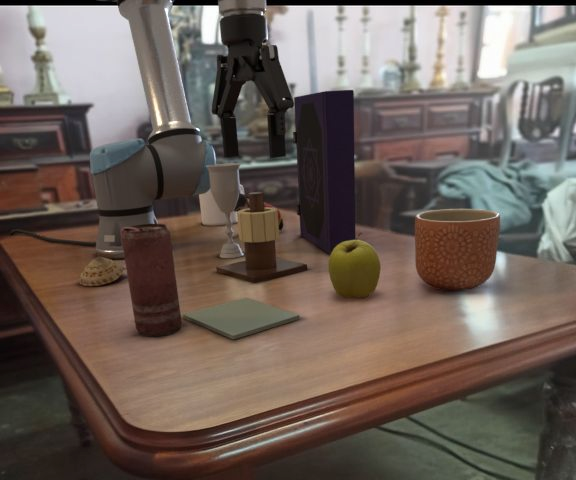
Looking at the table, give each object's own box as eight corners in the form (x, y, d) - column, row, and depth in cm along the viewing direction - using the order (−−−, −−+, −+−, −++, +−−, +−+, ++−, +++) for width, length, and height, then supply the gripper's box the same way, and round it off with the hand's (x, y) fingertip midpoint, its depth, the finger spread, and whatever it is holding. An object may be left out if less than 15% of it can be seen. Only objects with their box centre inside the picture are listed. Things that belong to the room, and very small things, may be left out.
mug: (207, 227, 157) (203, 187, 153) (198, 222, 165) (194, 184, 162) (251, 221, 161) (248, 183, 157) (240, 217, 170) (237, 180, 166)
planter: (450, 301, 85) (454, 225, 81) (397, 283, 95) (398, 215, 91) (513, 286, 90) (519, 214, 86) (456, 271, 100) (459, 206, 96)
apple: (356, 277, 96) (366, 220, 90) (384, 302, 90) (396, 243, 84) (314, 285, 93) (321, 227, 87) (340, 312, 87) (349, 252, 81)
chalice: (242, 259, 118) (234, 165, 111) (210, 259, 119) (200, 167, 113) (251, 251, 125) (244, 162, 118) (221, 251, 126) (212, 164, 119)
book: (357, 252, 118) (355, 89, 107) (327, 255, 117) (322, 91, 106) (323, 233, 139) (319, 95, 129) (298, 235, 138) (291, 97, 127)
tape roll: (231, 239, 106) (229, 211, 104) (263, 233, 110) (261, 206, 109) (254, 244, 101) (252, 214, 99) (287, 237, 105) (285, 209, 103)
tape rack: (216, 272, 109) (208, 195, 104) (268, 260, 116) (263, 187, 111) (254, 283, 100) (247, 199, 95) (307, 269, 107) (304, 190, 102)
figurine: (256, 246, 149) (208, 225, 139) (267, 210, 149) (220, 186, 139) (280, 247, 142) (231, 225, 132) (291, 209, 142) (243, 184, 132)
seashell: (135, 262, 110) (110, 254, 103) (133, 292, 110) (107, 287, 103) (98, 261, 113) (71, 253, 105) (96, 290, 113) (68, 285, 105)
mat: (183, 318, 84) (182, 314, 84) (245, 300, 91) (245, 297, 90) (233, 339, 75) (233, 335, 75) (299, 319, 81) (299, 315, 81)
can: (138, 324, 83) (122, 224, 78) (183, 320, 83) (170, 221, 78) (131, 339, 77) (113, 232, 72) (179, 335, 78) (165, 228, 72)
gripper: (183, 27, 100) (197, 158, 108) (271, -1, 81) (281, 159, 89) (220, 29, 104) (231, 155, 112) (312, 2, 86) (318, 155, 93)
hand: (253, 157), depth 100 cm, fingers open, 13 cm apart
